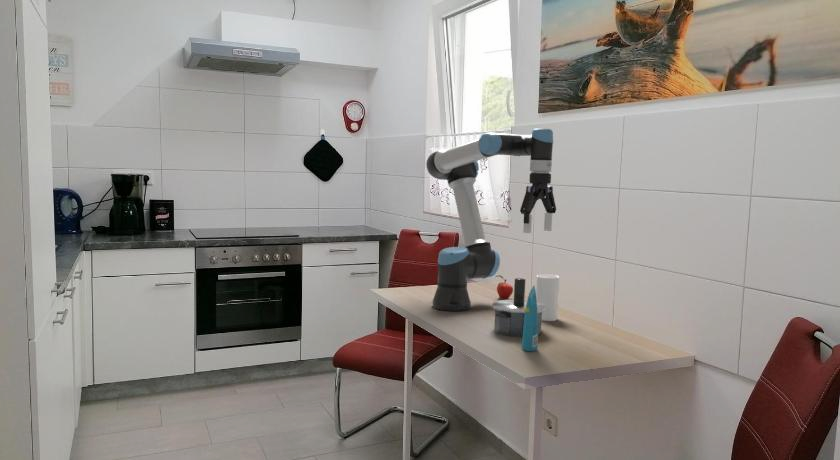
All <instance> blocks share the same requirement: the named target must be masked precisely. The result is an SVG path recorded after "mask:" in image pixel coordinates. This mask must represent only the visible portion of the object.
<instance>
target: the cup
mask: <svg viewBox="0 0 840 460" xmlns="http://www.w3.org/2000/svg"><path fill="white" fill-rule="evenodd" d="M535 283H536V284H535V291H536V299H537V303H540V304H543V305H545V306H546V310H545V311H544V312H542V322H543V321H544V322H556V321H557V320H558V313H559V291H560V276H559V275H556V274H551V273H550V274H549V273H547V274H546V273H545V274H544V273H541V274H536V282H535Z"/></svg>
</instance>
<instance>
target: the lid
mask: <svg viewBox="0 0 840 460" xmlns="http://www.w3.org/2000/svg"><path fill="white" fill-rule="evenodd" d="M525 294H526V279H525V278H523V277H521V278H520V277H516V278H514V287H513V299H500V300H496V301H493V302H492V303H491V304H492V305H491V306H492V308H493V309H494V310H495V309H496V310H499V311H503V312H509V313H518V314H525V310H526V305H527V300H525V299H526V298H525V297H526V295H525ZM545 310H546V306H545V305H543V304H540V303H537V313H541V312H544V311H545Z"/></svg>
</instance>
